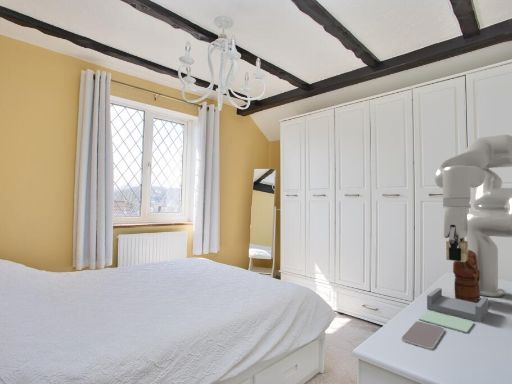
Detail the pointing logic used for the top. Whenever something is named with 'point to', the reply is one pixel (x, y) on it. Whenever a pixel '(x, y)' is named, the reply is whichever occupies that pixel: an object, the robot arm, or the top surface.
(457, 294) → the wooden figurine
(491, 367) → the top surface
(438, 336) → the smartphone
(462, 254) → the beech block
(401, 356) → the top surface
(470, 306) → the gray u-shaped channel
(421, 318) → the sage mat
